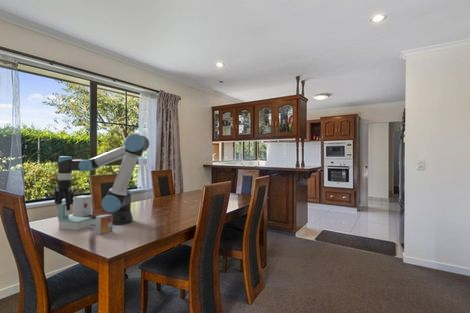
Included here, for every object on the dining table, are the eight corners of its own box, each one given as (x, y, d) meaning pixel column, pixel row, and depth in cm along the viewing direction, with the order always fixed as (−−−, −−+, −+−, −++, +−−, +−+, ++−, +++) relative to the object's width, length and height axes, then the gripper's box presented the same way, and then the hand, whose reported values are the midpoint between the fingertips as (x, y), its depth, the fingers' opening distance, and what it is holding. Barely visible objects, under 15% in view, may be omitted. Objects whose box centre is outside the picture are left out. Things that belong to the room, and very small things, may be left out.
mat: (107, 221, 176) (107, 220, 176) (94, 225, 164) (94, 224, 164) (88, 219, 179) (89, 218, 179) (75, 223, 168) (75, 222, 168)
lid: (90, 219, 162) (91, 204, 162) (77, 224, 151) (77, 207, 151) (67, 217, 166) (68, 202, 166) (53, 221, 155) (53, 204, 155)
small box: (99, 234, 146) (100, 217, 146) (94, 233, 149) (95, 215, 149) (112, 231, 153) (113, 214, 153) (107, 229, 156) (108, 213, 156)
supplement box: (82, 217, 185) (82, 197, 185) (72, 216, 187) (73, 196, 187) (91, 214, 194) (92, 195, 194) (82, 213, 196) (82, 195, 196)
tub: (89, 226, 161) (90, 219, 161) (77, 230, 152) (77, 222, 152) (72, 224, 164) (72, 217, 165) (58, 228, 155) (59, 221, 155)
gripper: (80, 179, 162) (79, 214, 162) (58, 178, 166) (57, 212, 166) (70, 180, 155) (69, 217, 155) (48, 179, 159) (46, 214, 158)
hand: (63, 214), depth 160 cm, fingers open, 5 cm apart
